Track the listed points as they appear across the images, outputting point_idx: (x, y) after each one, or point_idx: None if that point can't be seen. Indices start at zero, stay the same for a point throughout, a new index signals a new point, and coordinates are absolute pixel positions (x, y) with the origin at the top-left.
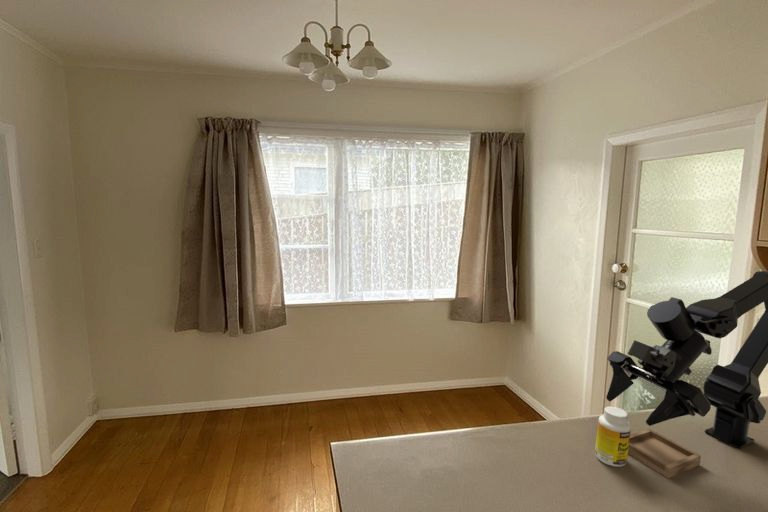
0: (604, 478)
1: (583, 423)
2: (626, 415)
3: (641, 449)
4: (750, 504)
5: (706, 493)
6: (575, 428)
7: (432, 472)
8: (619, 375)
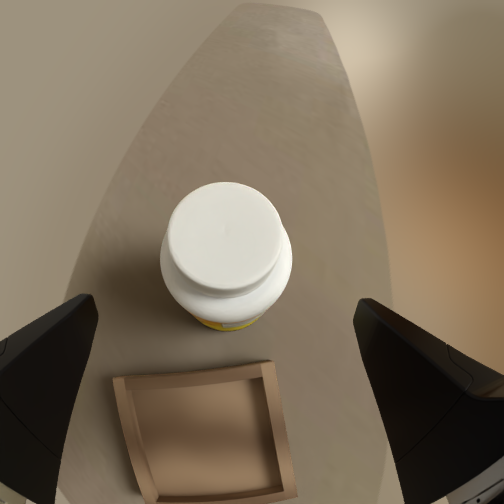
0: None
1: None
2: (172, 251)
3: (224, 405)
4: None
5: None
6: None
7: (268, 34)
8: (480, 399)
